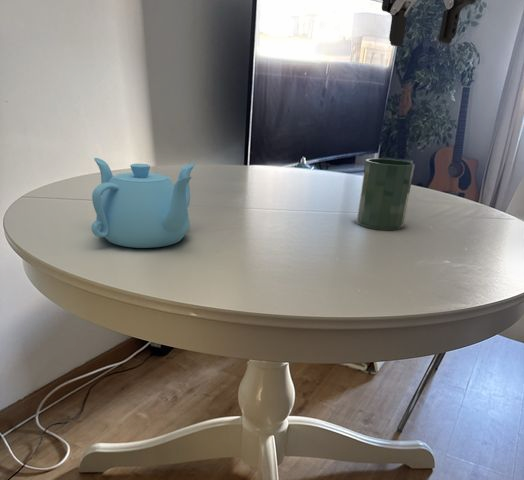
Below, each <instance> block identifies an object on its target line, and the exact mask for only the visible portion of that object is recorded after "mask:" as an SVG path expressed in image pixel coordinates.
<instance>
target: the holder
mask: <svg viewBox="0 0 524 480" xmlns="http://www.w3.org/2000/svg"><path fill="white" fill-rule="evenodd" d="M415 166H416V165H415V163H414V162H412V161H407V160H401V159H391V158H367V159H365V160H364V167H363V175H362V183H361V188H360V196H359V202H358V211H357V217H356V219H357V220H356V223H357V225H359V226H360V227H363V228H367V229H371V230H377V231H397V230H401V229H402V228H403V226H404V224H405V218H406V213H407V208H408V202H409V196H410V192H411V187H412V181H413V177H414V170H415Z"/></svg>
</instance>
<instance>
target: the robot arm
mask: <svg viewBox="0 0 524 480" xmlns="http://www.w3.org/2000/svg"><path fill="white" fill-rule="evenodd" d="M417 1H418V0H382V3H381V11H382V12H385V13H388V14H390V16H391V21H390V29H389V36H388V39H389V42H390V46H391V47H403V44H404V41H405V33H406V25H407V19H408V17H406V15H407V14H408V13H409V11H410V9H411V7H413V5H414V4H415V3H417ZM442 1H443V4H444V6H445V9H446V10H443V12H442V18H441V24H440V28H439V35H438V43H439V44H444V45H447V44H451V43H452V41H453V39H454V38H455V37H456V34H457V29H458V25H459V19H460V13H461V11H462V10H463V9H464V8H465V7H467V6H469V5H474V4H475V3H476V1H477V0H442Z"/></svg>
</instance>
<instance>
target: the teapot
mask: <svg viewBox="0 0 524 480" xmlns="http://www.w3.org/2000/svg"><path fill="white" fill-rule="evenodd" d="M93 159H94V162H95V163H96V164H97V167H98V169H99V172H100V181H101V182H100V184H98V185H97V186H96V187H95V188H93V191H92V195H91V201H92V206H93V209H94V211H95V214H96V217H95V221H93V223H91V233H92V234H93V236H95V237H98V238H105V239H106V240H107V241H108V242H109V243H111V244H113V245H117V246H121V247H125V248H135V249H151V248H152V249H153V248H160V247H168V246H171V245H175V244H177V243H179V242H180V241H181V240H182V239H183V238H184V237H185V236H186V234H187V233H188V231H189V229H190V227H191V221H190V217H189V210H188V208H189V206H190V203H191V202H190V201H191V190H190V180H191V179H192V177H193V176H191V173H192V170H193V169H194V167H195V165H196V163H195V162H193V163H192V162H191V163H187V164H186V165H184V166H183V167H182V168H181V170H180V171H179V174H178V179H177V180H176V182H175V183H174V182H173V181H172V180H171V178H170V177H169V176H167V175H165V174H161V173H153V172H150V169H151V165H150V164H147V163H132V164H130V165H129V167H130V169H131V171H132V172H124V173H117V174H114V175H113V172H112V170H111V168H110V166H109V164H108V163H107V162H106V161H105V160H103V159H101V158H99V157H94V158H93Z"/></svg>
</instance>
